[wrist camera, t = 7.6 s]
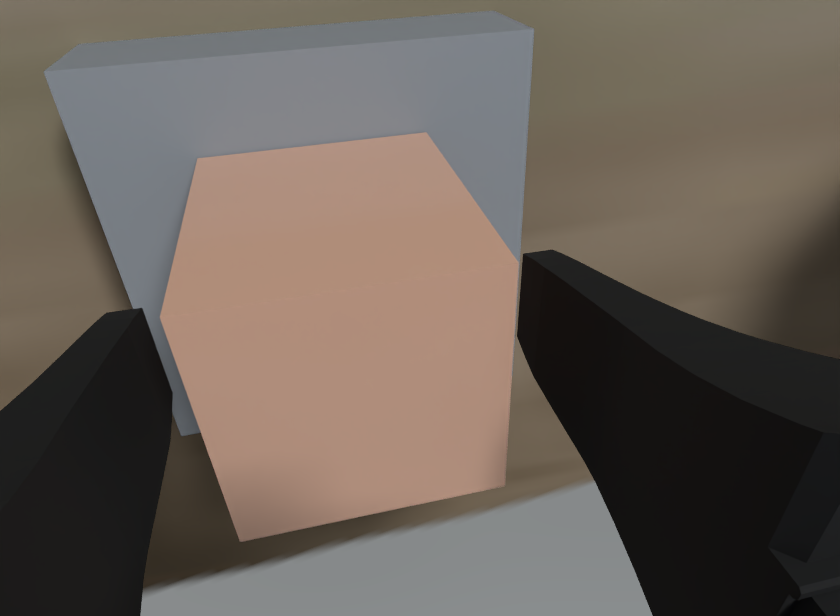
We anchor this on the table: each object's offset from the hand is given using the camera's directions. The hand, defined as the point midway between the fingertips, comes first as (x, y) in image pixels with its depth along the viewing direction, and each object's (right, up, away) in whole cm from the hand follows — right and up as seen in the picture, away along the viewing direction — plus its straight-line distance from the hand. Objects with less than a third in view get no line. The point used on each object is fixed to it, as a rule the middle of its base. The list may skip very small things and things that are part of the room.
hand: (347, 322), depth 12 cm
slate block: (-1, +3, +5) cm, 6 cm away
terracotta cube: (-1, +2, +2) cm, 3 cm away
